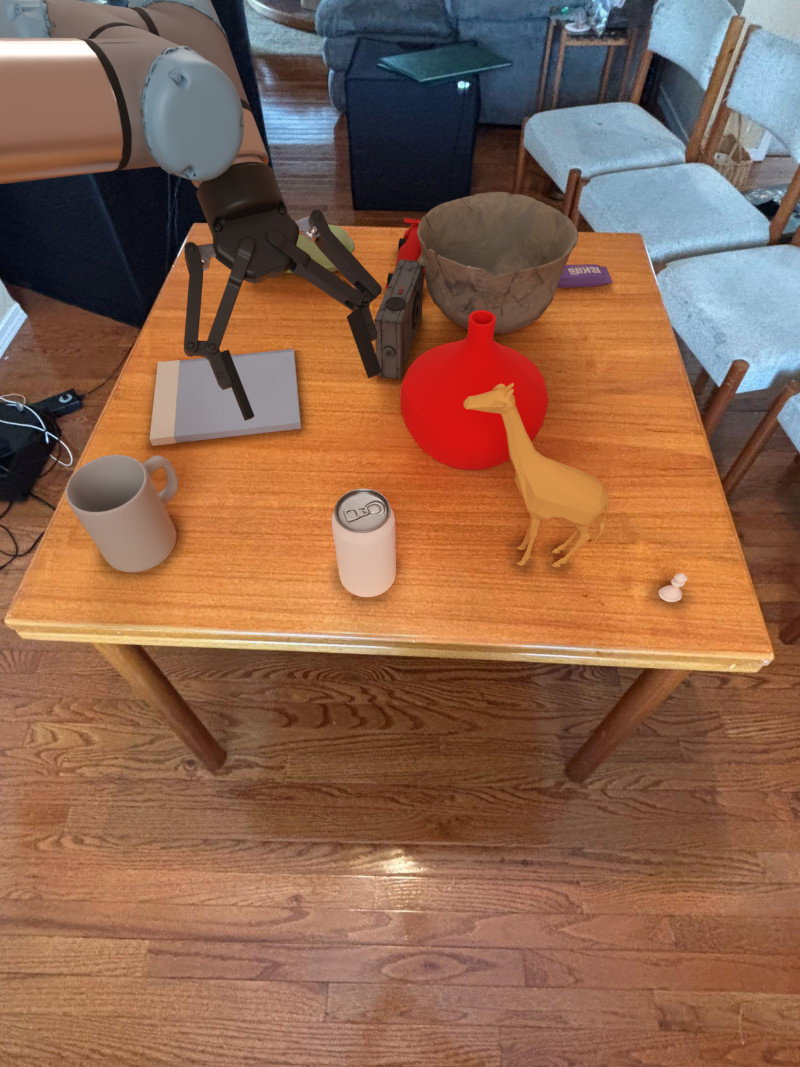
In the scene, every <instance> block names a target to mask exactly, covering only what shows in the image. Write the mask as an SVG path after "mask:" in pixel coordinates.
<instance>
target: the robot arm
mask: <svg viewBox="0 0 800 1067" xmlns="http://www.w3.org/2000/svg"><path fill="white" fill-rule="evenodd" d="M269 161H270V158H269V155H268V152H267V150H266V146H265V144H264V141H263V139H262V136H261V132H260V130H259V128H258V126H257V123H256V120H255V118H254V115H253V112H252V109H251V106H250V102H249V101H248V97H247V95H246V92H245V88H244V86H243V82H242V79H241V77H240V74H239V72H238V68H237V65H236V61H235V59H234V56H233V53H232V50H231V48H230V44H229V39H228V36H227V33H226V31H225V29H224V27H223V25H222V24H221V21H220V19H219V16H218V14H217V12H216V10H215V7H214V5H213V3H212V0H128V5H127V7H125V6H117V5H110V4H105V3H104V4H103V3H97V2H90V1H85V0H0V185H4V184H15V183H23V182H30V181H31V182H32V181H38V180H47V179H55V178H65V177H73V176H74V177H75V176H82V175H89V174H98V173H99V174H100V173H107V172H115V171H125V170H134V169H135V170H136V169H137V170H138V169H145V168H154V167H155V168H157V167H160V168H161V169H162V170H164V171H165V172H166V173H167V174H170V175H171V176H176V177H179V178H182V179H187V180H189V181H191V184H192V185H193V186H194V187H195V188H197V190H196V197H197V200H198V203H199V206H200V207H201V211H202V213H203V215H204V218H205V220H206V223H207V226H208V228H209V231H210V233H211V237H212V242H211V243H204V244H198V245H197V244H196V243H195V242H193V241H188V242H186V243H185V245H184V261H185V265H186V268H187V271H188V272H187V273H188V287H187V298H186V299H187V300H186V313H185V324H184V325H185V326H184V327H185V328H184V335H183V336H184V339H183V352H184V354H185V355H186V356H187V357H189V358H193V357H200V358H201V357H202V358H206V359H207V360H208V361H209V363H210V365H211V368H212V370H213V373H214V375H215V378H216V380H217V383H218V385H219V387H220V388H221V389H222V390H225V389H228V388H232V390H233V393H234V395H235V398H236V400H237V403H238V405H239V408H240V410H241V413H242V415H243V418H244V420H245V421H246V420H249V419H252V418H253V417H254V413H253V411H252V408H251V405H250V403H249V400H248V398H247V395H246V393H245V390H244V388H243V385H242V383H241V380H240V377H239V375H238V372H237V370H236V367H235V365H234V362H233V360H232V357H231V355H232V354H231V352H230V350H229V349H225V350H222V351H221V349H220V348H221V345H222V342H223V339H224V337H225V334H226V330H227V328H228V325H229V322H230V319H231V316H232V313H233V310H234V307H235V305H236V302H237V299H238V296H239V294H240V291H241V287H242V285H243V282H244V281H245V282H247V283H252V284H253V285H256V284H260V283H262V282H263V281H265V280H267V279H278V278H281V277H284V275H285V274H287V273H286V272H287V271H288V270H289V271H291V272H292V273H294V275H295V276H298V277H301V278H303V279H304V280H306V281H307V282H309V283H310V284H312V285H313V286H315V287H316V288H317V289H319V290H321V291H322V292H323V293H325V294H326V295H328V296H329V297H331V298H333V299H334V300H336V301H337V302H338V303H339V304H341V305H343V306H344V307H346V308H347V309H348V310H350V311H351V312H350V313H349V314H348V315H347V316H346V319H347V322H348V325H349V327H350V332H351V333H352V336H353V339H354V342H355V346H356V348H357V351H358V354H359V356H360V360H361V362H362V365H363V368H364V371H365V373H366V376H367V379H371V378H375V377H377V375H378V374H380V373H382V371H381V368H380V365H379V362H378V359H377V356H376V349H375V348H374V345H373V342H375V340H376V339H377V330H376V327H375V321H374V319H373V314H372V313H371V309H370V305H371V303H373V301H375V300H376V299H377V298H378V297H379V296H380V295H381V294H382V292H383V288H382V286H381V284H380V283H379V282H378V281H377V280H376V279H375V277H374V276H373V275H372V274H371V273H370V272H369V271H368V270H367V269H366V268H365V267H364V265H362V263H361V262H360V261H359V260H358V259H357V258H356V257H355V255H354V254H353V253H352V254H351V253H350V251H349V250H348V249H347V248H346V247H345V246H344V245H343V244H342V243H341V241H340V240H339V239H338V238H337V237H336V236H335V235H334V234H333V233H332V232H331V230H330V228H329V226H328V225H329V224H328V221H327V219H326V216H325V215H324V214H323V212H322V211H321V210H320V209H313V210H312V211H311V213H310V215H308V216H306V217H303V218H301V219H299V220H294V219H293V218H292V217H291V215H290V213H289V211H288V209H287V206H286V204H285V203H286V202H285V200H284V198H283V195H282V192H281V188H280V186H279V184H278V180H277V178H276V175H275V172H274V169H273V168H272V167H270V166H269ZM299 235H304V236H305V237H306V238H307V239H308V240H309V241H314V242H315V244H316V245H317V247H318V248H319V249H320V250H321V252H322V253H323V254H324V255H325V256H326V257H327V258H328V259H329V260H330V261H331V262H332V264H333V265H334V266H335V267H336V268H337V269H338V271H339V272H340V273H341V275H342V276H343V277H344V278H345V279H346V280H347V281H348V282H349V283H350V284H349V283H348V282H347V281H345V280H343V279H342V278H341V277H339V276H338V275H336V274H334V272H330V271H329V270H327V269H326V268H324V267H323V266H322V265H320V264H319V263H317V262H316V261H314V260H313V259H312V258H311V257H310V255H309V254H308V253H306V252H305V251H303V250H302V249H300V248H299V247H297V246H296V245H297V241H298V237H299ZM214 258H215V259H216V260H217V261H218V262H219V263H221V264H222V265H224V266H225V267H226V268H228V269H229V270H230V272H229V276H228V279H227V282H226V285H225V288H224V291H223V293H222V296H221V300H220V302H219V305H218V308H217V311H216V313H215V317H214V319H213V322H212V326H211V328H210V330H209V331H210V332H209V334H208V337H207V340H199V332H200V321H201V320H200V319H201V310H202V296H203V284H204V272H206V271H208V270H209V269H210V265H211V260H212V259H214Z"/></svg>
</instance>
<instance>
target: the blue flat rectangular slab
mask: <svg viewBox="0 0 800 1067" xmlns="http://www.w3.org/2000/svg"><path fill="white" fill-rule="evenodd" d="M231 357H232V360H233V362H234V365H235V367H236V370H237V372H238V375H239V377H240V380H241V383H242V385H243V388H244V390H245V393H246V395H247V398H248V400H249V403H250V405H251V408H252V411H253V413H254V417H253V418H252V419H249V420H246V421H245V420H244V418H243V415H242V413H241V410H240V408H239V405H238V403H237V400H236V398H235V395H234V393H233V390H232V388H228V389H225V390H222V389H221V388H220V387H219V385H218V383H217V380H216V378H215V375H214V373H213V370H212V368H211V365H210V363H209V361H208V360H207V359H206V358H205V357H202V358H201V357H200V358H191V359H183V360H180V359H175V360H166V361H165V360H164V361H157V366H156V376H155V386H154V394H153V402H152V413H151V422H150V431H149V441H150V443H151V446H153V447H155V446H165V445H171V444H179V443H187V442H196V441H205V440H214V439H223V438H232V437H241V436H249V435H257V434H264V433H266V434H267V433H276V432H283V431H284V432H285V431H295V430H301V429H302V419H301V407H300V396H299V387H298V385H299V384H298V375H297V365H296V364H297V363H296V354H295V349H294V348H290V349H289V348H288V349H279V350H269V351H261V352H260V351H259V352H251V353H240V354H231Z"/></svg>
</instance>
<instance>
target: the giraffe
mask: <svg viewBox="0 0 800 1067" xmlns="http://www.w3.org/2000/svg"><path fill="white" fill-rule="evenodd" d="M513 386H514V384H513V383H512V384H510V385H508V386H507V387H506V386H505V385H504V384H499V385H497V386H496V387H494V388H493V391H490V392H486V393H483V394H480V395H476V396H469V397H468V398H467V399H466V400H465V401H464V405H463V406H464V408H465V409H473V410H479V411H485V412H491V413H499V414H502V417H503V421H504V425H505V429H506V433H507V440H508V449H509V456H510V459H511V460H510V461H511V463H512V466H513V468H514V482H515V484H516V487H517V489H518V491H519V493H520V495H521V497H522V499H523V501H524V504H525V507H526V509H527V511H528V513H529V524H528V527H527V531H526V534H525V536H524V538H523V540H522V542H521V543H520V545H518V546H516V549H517V550H519V551H524V550H526V551H525V552H524V553H523V556H522V557H521V559H520V560H518V561H516V565H518V566H520V567H523V566H524V565H526V564H527V561H529V560H530V559H531V556H532V550H533V547H534V543H535V541H536V538H537V536H538V534H539V531H538V530H539V527H540V524H541V522H542V520H549V519H553V518H558V519H565V520H567V521H569V522H571V523H572V525H573V526H574V527H575V528H576V529H575V530H574V532H573V533H572V535H571V536H569V538H568V539H566V541H565V542H564V543H562V544H560V545H559V546H557V547H556V548H554V549H552V550H551V553H552V554H555V555H557V554H561V552H563V551H566V550H567V548H568V546H569V545H570V544H571V543H572V542H573V540H575V539H576V537H578V536H579V538H578V539H577V541H576V542H575V544H574V546H573V547H572V548H571V549H570V550H569V551H568V552H567V554H566V555H564V556H563V557H561V558H559V559H558V560H557V561H554V562H553V563H552V564H551V566H552V567H553V568H561V565H567V563H568V560H569V559H570V558H571V556H573V555H574V554H575V552H576V551H577V550H578V549H579V548H581V547H582V546H583V545H584V544H585V543H587V542H588V541H589V540H590V538H591V535H590V533H589V531H590V526H591V525H592V524H593V523H594V522H595V521H596V520H597V519H598V518H599V516H601V514H602V513H603V516H602V519H601V521H599V522H598V525H597V530H596V534H595V537H594V539H593V545H594V544H595V543H596V542H597V540H598V539H599V538H600V537H601V536H602V534H603V533H604V531H605V529H606V523H605V522H604V521H605V519H606V516H607V515H608V514H607V513H608V510H609V505H610V494H609V492H608V490H607V489H606V487H605V486H604V484H603V483H602V482H601V481H600V480H599V478H597V477H595V476H593V475H591V474H590V473H587V472H585V471H583V470H580V469H579V468H576V467H573V466H569V465H568V464H564V463H562V462H559V461H557V460H554V459H551V458H549V457H547V456H544V455H543V454H541V453H540V452H539V451H538V450H536V448H535V447H534V445H533V442H532V441H531V440H530V438H529V437H528V435H527V433H526V431H525V428H524V426H523V423H522V420H521V418H520V415H519V413H518V410H517V408H516V406H515V398H514V395H513V394H512V393H513V391H514V389H512V390H511V388H512V387H513Z"/></svg>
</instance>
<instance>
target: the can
mask: <svg viewBox="0 0 800 1067" xmlns="http://www.w3.org/2000/svg"><path fill="white" fill-rule="evenodd" d="M331 529H332V537H333V543H334V550H335V555H336V563H337V568H338V575H339V580H340V582H341V585H342V586H343V588H344V590H346V591H347V592H348V593H350V594H352V595H354V596H357V597H361V598H373V597H377V596H380V595H382V594H384V593H386V592H387V591H388V590H389V589H390V588H391V587H392V586H393V584H394V582H395V580H396V576H397V552H396V551H397V547H396V546H397V544H396V543H397V542H396V518H395V514H394V510H393V508H392V507H391V504H390V502H389V500H388V499H387V497H386V496H385V494H384V495H383V494H382V493H381V492H380V491H377V490H374V489H372V488H355V489H352V490H349V491H347V492H345V493H344V494H343V495H342V496H340V497H339V498H338V499H337V501H336V503H335V504H334V509H333V513H332V516H331Z"/></svg>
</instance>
